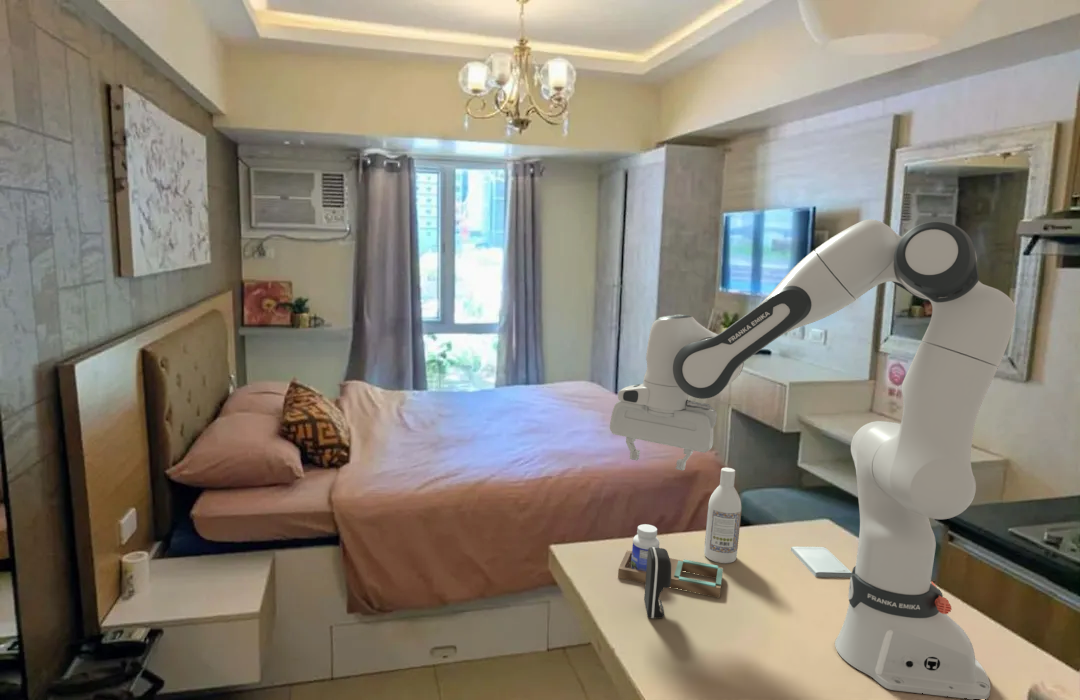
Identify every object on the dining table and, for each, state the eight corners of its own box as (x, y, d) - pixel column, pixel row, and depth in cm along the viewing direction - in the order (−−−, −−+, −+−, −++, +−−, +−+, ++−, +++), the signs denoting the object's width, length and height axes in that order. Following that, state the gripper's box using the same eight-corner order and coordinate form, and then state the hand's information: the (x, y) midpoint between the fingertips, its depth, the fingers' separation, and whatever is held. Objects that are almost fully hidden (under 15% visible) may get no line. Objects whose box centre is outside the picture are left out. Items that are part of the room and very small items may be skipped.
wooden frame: (722, 577, 140) (723, 566, 140) (719, 597, 132) (720, 586, 131) (626, 559, 146) (627, 549, 146) (617, 577, 138) (618, 567, 137)
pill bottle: (629, 565, 143) (632, 521, 142) (655, 567, 143) (658, 523, 142) (631, 578, 138) (635, 532, 136) (658, 579, 138) (662, 534, 136)
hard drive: (853, 573, 143) (826, 546, 155) (815, 572, 142) (790, 545, 154) (852, 580, 143) (825, 553, 155) (814, 579, 142) (790, 552, 155)
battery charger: (668, 621, 122) (673, 561, 121) (647, 619, 123) (652, 560, 121) (663, 601, 129) (668, 544, 128) (643, 599, 130) (647, 543, 128)
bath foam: (742, 563, 147) (751, 474, 144) (712, 565, 145) (721, 475, 142) (726, 549, 153) (735, 464, 150) (698, 550, 152) (706, 464, 149)
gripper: (721, 402, 131) (712, 471, 134) (621, 385, 140) (614, 450, 142) (714, 408, 126) (706, 480, 128) (610, 390, 134) (604, 457, 136)
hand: (657, 464), depth 135 cm, fingers open, 8 cm apart
